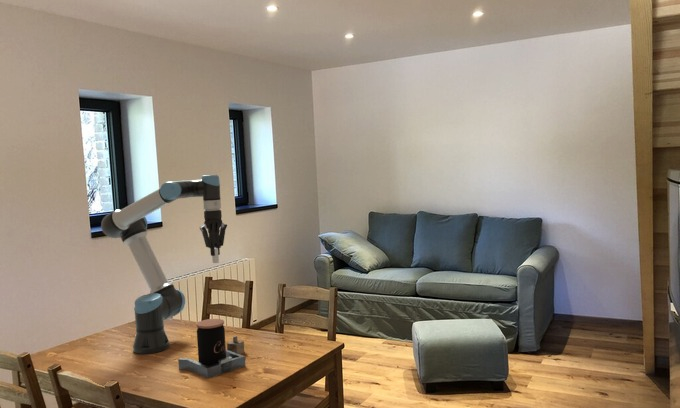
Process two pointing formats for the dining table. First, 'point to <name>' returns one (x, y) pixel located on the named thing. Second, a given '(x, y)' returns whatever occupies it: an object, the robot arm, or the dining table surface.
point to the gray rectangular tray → (224, 365)
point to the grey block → (236, 346)
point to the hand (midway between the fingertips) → (215, 262)
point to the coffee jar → (211, 341)
